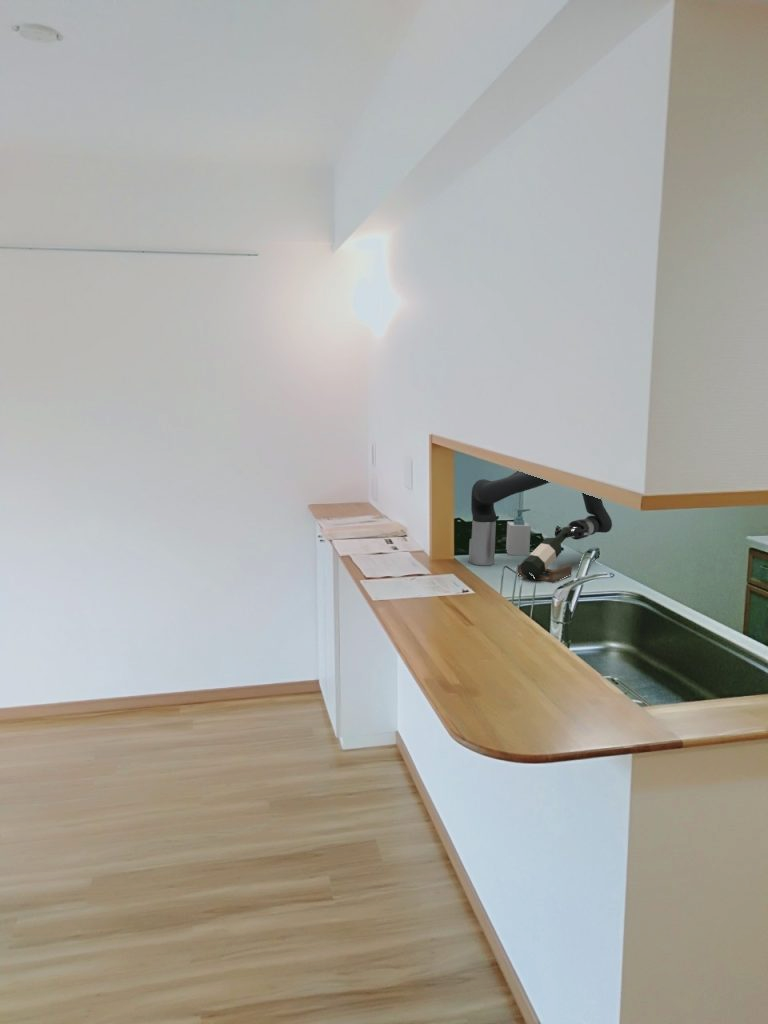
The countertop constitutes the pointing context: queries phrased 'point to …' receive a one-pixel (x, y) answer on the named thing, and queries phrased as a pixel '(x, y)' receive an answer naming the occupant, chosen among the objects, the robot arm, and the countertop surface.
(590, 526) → the robot arm
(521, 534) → the soap bottle
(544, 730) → the countertop surface
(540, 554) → the wine bottle
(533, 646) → the countertop surface
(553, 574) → the cradle
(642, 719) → the countertop surface
